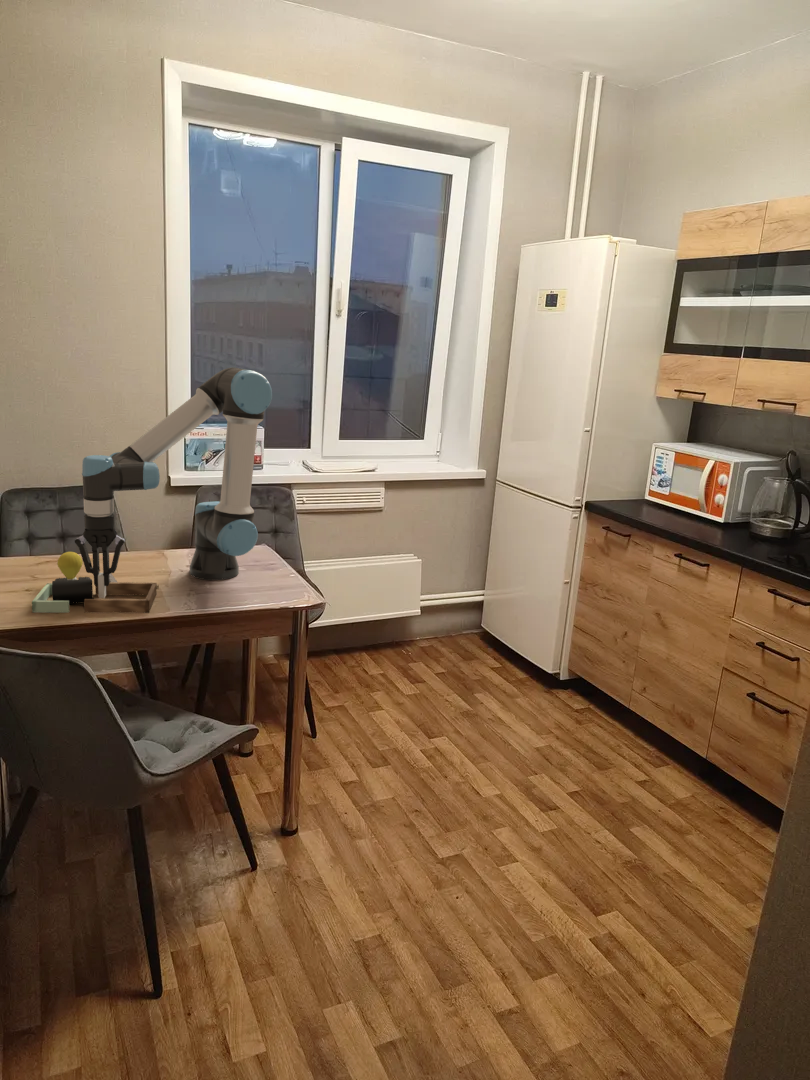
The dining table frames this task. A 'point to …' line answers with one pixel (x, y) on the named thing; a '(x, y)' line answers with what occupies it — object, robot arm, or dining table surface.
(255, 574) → the dining table surface
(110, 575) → the grey metal bar
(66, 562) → the light bulb
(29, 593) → the dining table surface
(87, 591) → the end cap
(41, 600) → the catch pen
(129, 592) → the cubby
